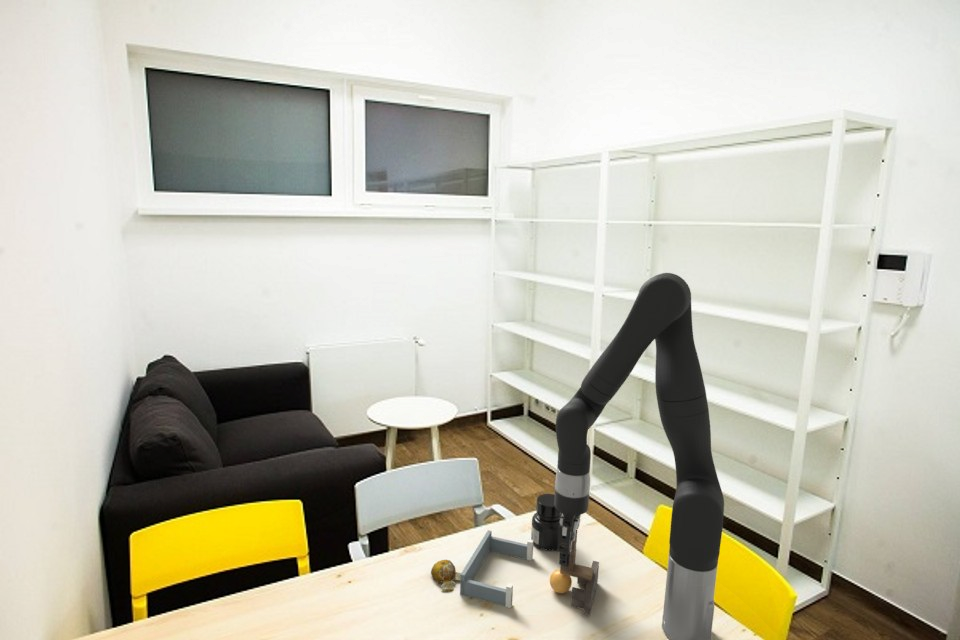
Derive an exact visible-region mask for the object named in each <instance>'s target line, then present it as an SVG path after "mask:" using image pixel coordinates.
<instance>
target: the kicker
mask: <svg viewBox="0 0 960 640" xmlns="http://www.w3.org/2000/svg"><path fill="white" fill-rule="evenodd" d="M571 536H572V534H571ZM576 539H577V540H578V531H577V532H576V534H575V540H574V541H572V545H571V552H570V564H569V566H568V567H566V566H562V565H559V567H560V568H559V569H560V574H565V575H569V576H570V577H573V578H577V581H576V583H577V584H578V585H582V586H586V587H585V589H584V588H583V589H582V588H580V587H575V586H571V587H572V588H571V596H570V597H571V598H570V599H571V600H570V606H571V607H573V608H578V609H581V610H583V613H582V614H583V615H586V616H591V613H592V612H591V611H592V608H593V603H594V599H595V595H596V590H597V586H598V583H599V582H598V581H599V569H600V568H599V564H600V561H596V560H592V563H591V566H586V565H582V564H578V563H576V553H577V552H576V551H577V549H576V548H577V542H576ZM563 545H567V544H566V543H563Z"/></svg>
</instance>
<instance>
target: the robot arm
mask: <svg viewBox="0 0 960 640" xmlns="http://www.w3.org/2000/svg"><path fill="white" fill-rule="evenodd" d="M692 316H693V313H692V291H691V289H690V286H689V284H688V283H687V281H686V280H685V279H683V277H681V276H680V275H677V274H675V273H673V272H672V273H671V272H663V273H659V274H655V276H653V277H651V278H649V279H648V280H646V281H645V282H644V283H643V284H642V285H641V287H640V289H639V290H638V293H637V296H636V298H635V300H634V303H633V305H632V306H631V309H630V311H629V313H628V314H627V317H626V318H625V320H624V323H622V326H621V327H620V329H619V330H618V332H617V333H616V335H615V336H614V338H613V339H612V340H611V341H610V343H609V344H608V345H607V347H606V348H605V350H603V352H602V353H601V355H599V356H598V359H597V360H596V361H595V362H594V364H593V365H592V367H591V368H590V370H589V371H588V372H587V373H586V375H585V376H584V378H583V380H582V382H581V383H580V387H579V389H578V390H577V391H576V393H575V394H574V395H573V397H571V399H570V400H569V401H568V402H567V403H566V404H565V405H563V406H562V407H561V409H559V411H558V413H557V416H556V419H555V434H556V435H555V436H556V444H557V446H558V447H557V448H558V450H557V451H558V452H557V453H558V454H557V468H556V473H555V480H554V481H555V483H554V495H555V497H554V506H555V508H556V509H557V510H558V511H560V512H561V513H562V516H561V517H560V526H559V536H558V547H557V550H556V551H557V552H558V553H559V557H558V558H559V561H558V562H559V563H558V564H559V566H561V565H562V566H566V567H568V566H569V564H570V552H571V545H572V541H574V540H575V534H576V532H577V533H578V530H579V528H580V523H581V515H583V514H585V513H586V512H587V511H588V510H589V503H590V489H591V488H590V487H591V475H590V474H591V473H590V472H591V471H590V470H591V453H592V451H591V447H590V446H589V444H588V431H589V429H590V428H591V427H592V426H593V425H594V424H595V423H596V421H597V420H598V418H599V417H600V415H601V414H602V412H603V410H604V409H605V407H606V406H607V405H608V403H609V402H610V401H611V400H612V399H613V397H615V395H616V394H617V393H618V391H619V390H620V389H621V387H622V386H623V385H624V384H625V382H626V381H627V379H628V377H629V376H630V375H631V373H632V371H633V370H634V369H635V367H636V365H637V363H638V362H639V360H640V358H641V357H642V356H643V354H644V352H645V351H646V350H647V349H648V348H649V346H650V345H651V344H652V342H655V352H656V353H655V374H654V375H655V378H654V380H655V381H654V382H655V395H656V401H657V402H656V403H657V406H658V407H657V408H658V413H659V418H660V421H661V425H662V427H663V431H664V434H665V435H666V438H667V440H668V443H669V444H670V447H671V449H672V453H673V457H674V464H675V465H674V467H675V474H676V475H675V476H676V486H675V487H676V489H675V494H674V498H673V499H674V500H673V502H672V509H671V519H670V531H669V541H668V544H669V547H668V548H669V549H668V560H667V571H666V580H665V589H664V590H665V592H664V602H663V612H662V613H663V614H662V621H661V622H662V624H661V628H662V630H663V631H662V632H663V633H664V634H665V636H666V637H667V638H668V639H669V640H711V639H712V630H713V622H714V614H715V613H714V612H715V598H714V597H715V590H716V583H717V582H716V581H717V573H718V563H719V558H720V550H721V543H722V536H723V527H724V515H725V514H724V513H725V512H724V511H725V497H724V495H723V491H722V488H721V483H720V481H719V478H718V475H717V474H718V473H717V470H716V466H715V463H714V459H713V458H714V457H713V453H712V435H711V434H712V432H711V421H710V412H709V405H708V398H707V391H706V385H705V382H704V378H703V372H702V368H701V363H700V359H699V355H698V352H697V349H696V345H695V340H694V332H693V330H694V329H693V318H692ZM571 534H572V536H571ZM577 541H578V538H577V539H576V543H577ZM563 543H566V544H567V545H563Z"/></svg>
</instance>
